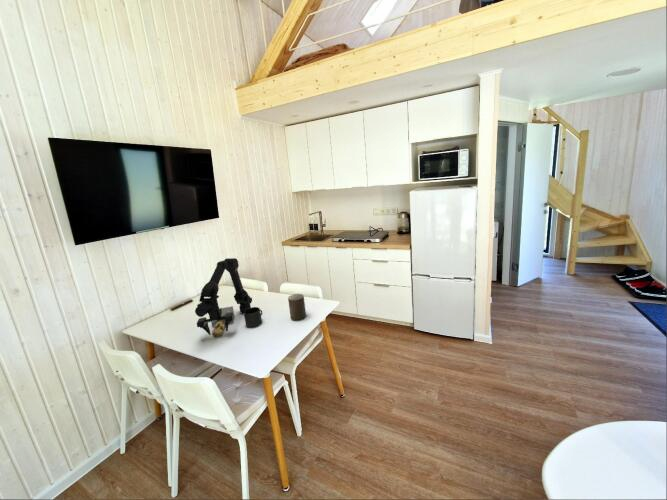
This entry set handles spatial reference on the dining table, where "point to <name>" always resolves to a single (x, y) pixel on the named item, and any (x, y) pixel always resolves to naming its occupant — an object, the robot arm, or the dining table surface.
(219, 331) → the gold cylindrical piece
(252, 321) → the mug
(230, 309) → the block
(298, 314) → the pillar candle
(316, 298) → the dining table surface
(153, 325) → the dining table surface
